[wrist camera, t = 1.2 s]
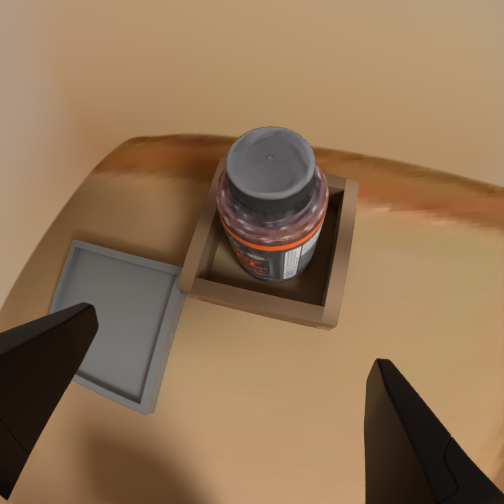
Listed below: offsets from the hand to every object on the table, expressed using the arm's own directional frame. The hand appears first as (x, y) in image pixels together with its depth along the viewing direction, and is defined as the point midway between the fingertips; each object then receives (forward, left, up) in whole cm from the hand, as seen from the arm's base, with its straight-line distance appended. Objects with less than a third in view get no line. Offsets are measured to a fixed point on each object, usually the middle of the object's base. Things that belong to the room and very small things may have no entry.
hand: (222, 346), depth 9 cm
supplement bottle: (+8, +1, -14) cm, 16 cm away
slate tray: (-1, +12, -13) cm, 18 cm away
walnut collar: (+8, +1, -13) cm, 16 cm away
